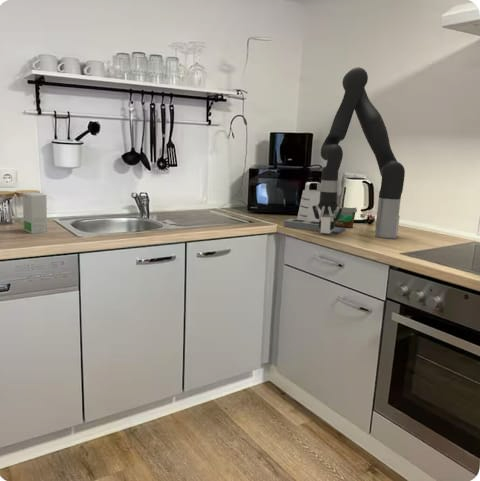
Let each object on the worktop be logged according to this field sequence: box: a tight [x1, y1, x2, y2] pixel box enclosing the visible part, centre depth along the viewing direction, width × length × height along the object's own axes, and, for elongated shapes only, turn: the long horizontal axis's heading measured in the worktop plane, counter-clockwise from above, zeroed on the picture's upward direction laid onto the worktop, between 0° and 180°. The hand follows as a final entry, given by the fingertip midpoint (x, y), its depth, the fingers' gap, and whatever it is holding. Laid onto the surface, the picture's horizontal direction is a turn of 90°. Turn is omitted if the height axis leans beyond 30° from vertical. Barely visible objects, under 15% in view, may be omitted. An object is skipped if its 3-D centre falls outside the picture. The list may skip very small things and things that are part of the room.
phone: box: [330, 226, 347, 235], centre depth 209 cm, size 6×12×1 cm, turn 152°
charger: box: [319, 215, 332, 234], centre depth 201 cm, size 4×4×7 cm
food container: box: [334, 207, 358, 229], centre depth 221 cm, size 12×6×10 cm, turn 62°
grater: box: [296, 181, 321, 222], centre depth 236 cm, size 10×10×20 cm
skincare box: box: [22, 191, 48, 235], centre depth 183 cm, size 8×7×16 cm
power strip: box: [283, 218, 321, 233], centre depth 215 cm, size 20×9×3 cm, turn 62°
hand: (326, 229), depth 201 cm, fingers closed on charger, 4 cm apart
